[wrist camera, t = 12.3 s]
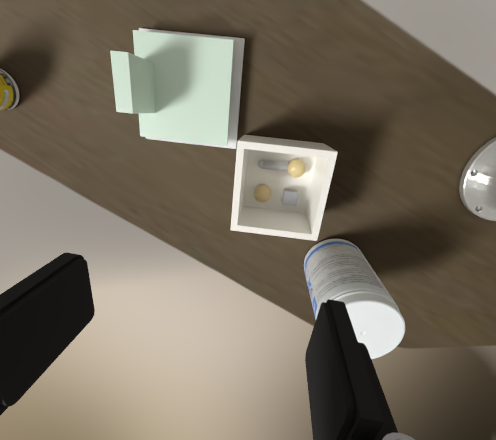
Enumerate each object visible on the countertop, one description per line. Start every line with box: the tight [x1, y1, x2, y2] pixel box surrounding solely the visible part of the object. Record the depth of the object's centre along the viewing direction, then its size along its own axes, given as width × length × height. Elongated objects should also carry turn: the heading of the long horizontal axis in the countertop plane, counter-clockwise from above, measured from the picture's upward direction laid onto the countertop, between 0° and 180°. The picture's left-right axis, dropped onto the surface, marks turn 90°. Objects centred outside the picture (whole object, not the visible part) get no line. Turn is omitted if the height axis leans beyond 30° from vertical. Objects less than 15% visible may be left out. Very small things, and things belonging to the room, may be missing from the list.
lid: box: [110, 30, 235, 146], centre depth 30 cm, size 12×12×8 cm
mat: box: [139, 28, 245, 149], centre depth 34 cm, size 13×13×1 cm
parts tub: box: [231, 135, 338, 241], centre depth 34 cm, size 11×11×8 cm
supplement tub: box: [304, 239, 405, 359], centre depth 35 cm, size 10×10×15 cm
